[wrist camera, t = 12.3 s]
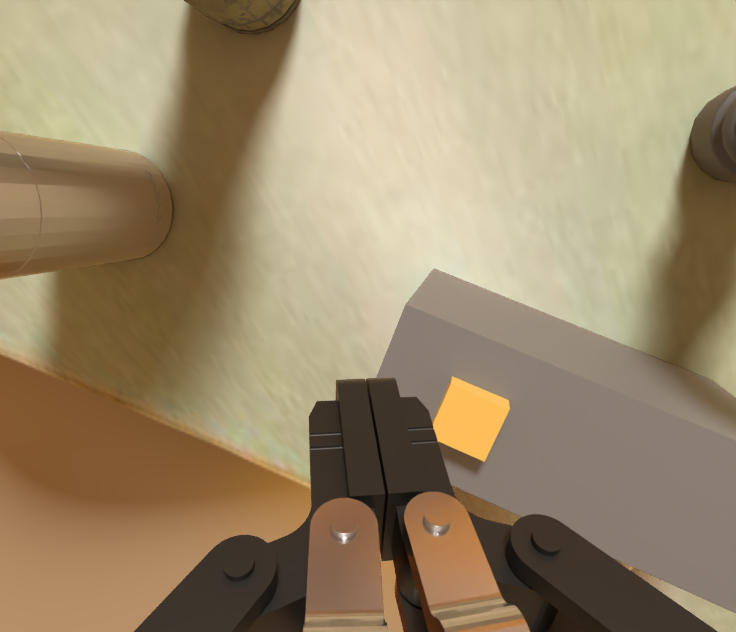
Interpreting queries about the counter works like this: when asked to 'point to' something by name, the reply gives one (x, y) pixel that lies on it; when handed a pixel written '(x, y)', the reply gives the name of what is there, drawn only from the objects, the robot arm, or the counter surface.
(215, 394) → the counter surface
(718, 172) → the candle holder
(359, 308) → the counter surface
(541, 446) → the control panel
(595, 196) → the counter surface
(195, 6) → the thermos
